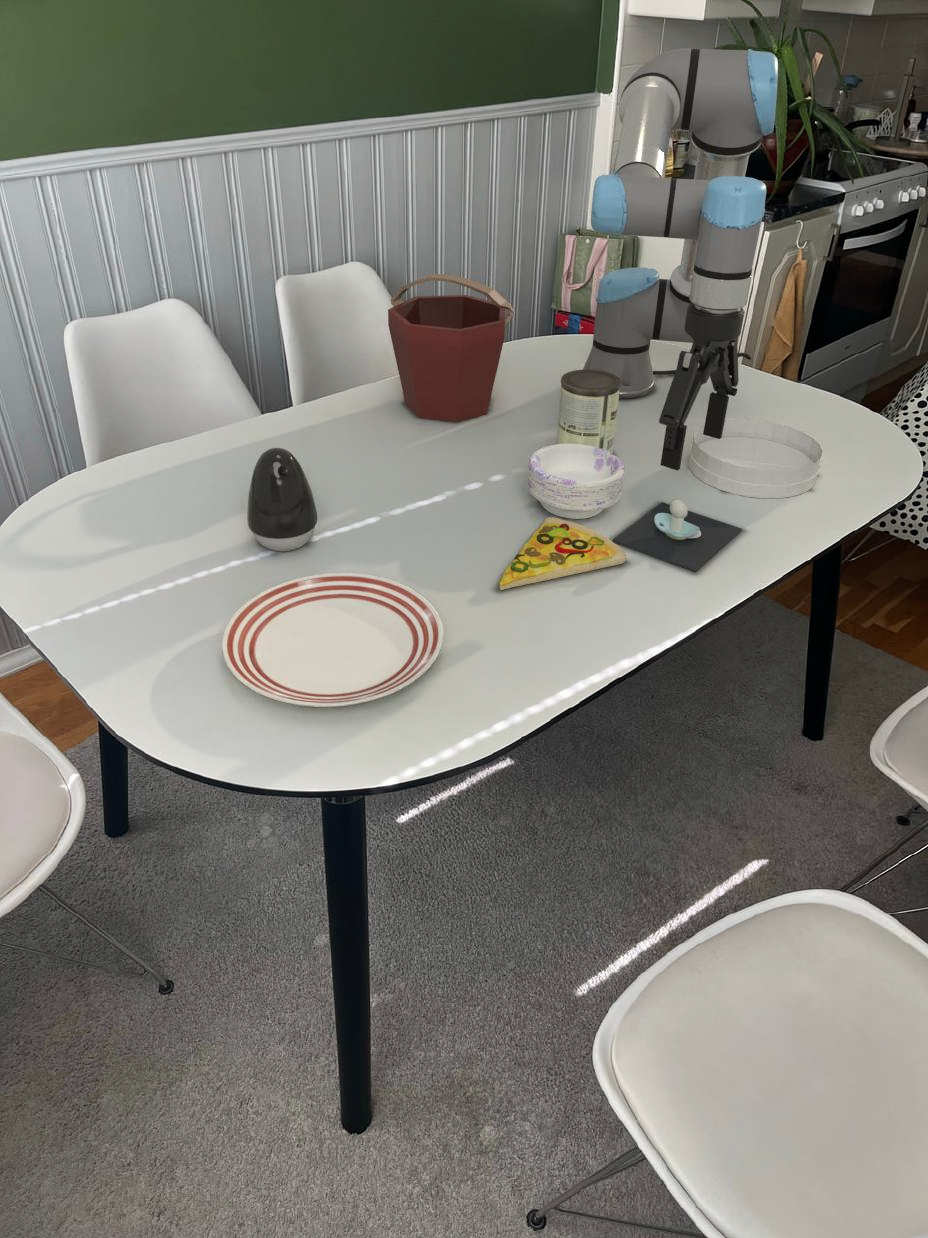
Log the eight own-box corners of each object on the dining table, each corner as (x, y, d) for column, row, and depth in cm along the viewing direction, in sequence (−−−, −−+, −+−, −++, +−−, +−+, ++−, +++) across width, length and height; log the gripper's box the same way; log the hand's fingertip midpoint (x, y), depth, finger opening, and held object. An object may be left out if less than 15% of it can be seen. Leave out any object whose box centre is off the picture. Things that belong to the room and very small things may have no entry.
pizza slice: (632, 559, 140) (635, 542, 138) (539, 613, 128) (541, 594, 126) (553, 522, 149) (555, 505, 147) (460, 569, 137) (460, 551, 135)
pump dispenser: (263, 566, 136) (251, 470, 128) (242, 534, 144) (230, 442, 135) (329, 551, 140) (322, 457, 132) (305, 520, 148) (298, 430, 139)
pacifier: (670, 519, 150) (647, 530, 146) (677, 483, 146) (653, 494, 143) (709, 537, 145) (686, 548, 142) (717, 500, 142) (693, 511, 139)
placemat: (661, 504, 155) (662, 502, 155) (741, 530, 148) (742, 528, 148) (612, 541, 144) (612, 539, 144) (695, 572, 137) (696, 570, 137)
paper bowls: (637, 506, 154) (644, 461, 150) (581, 538, 145) (586, 492, 140) (564, 476, 162) (568, 433, 158) (506, 505, 153) (509, 460, 149)
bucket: (530, 407, 188) (538, 278, 174) (457, 440, 174) (460, 303, 160) (438, 376, 201) (439, 254, 187) (364, 405, 187) (359, 275, 173)
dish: (682, 487, 160) (687, 460, 157) (692, 437, 177) (696, 411, 175) (819, 506, 155) (826, 478, 152) (815, 452, 173) (821, 426, 170)
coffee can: (555, 441, 175) (561, 367, 167) (611, 444, 174) (620, 370, 166) (554, 465, 166) (560, 388, 158) (613, 469, 165) (622, 391, 157)
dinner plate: (450, 717, 110) (450, 695, 108) (210, 727, 107) (206, 704, 106) (437, 590, 132) (437, 569, 130) (238, 595, 130) (235, 575, 128)
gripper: (730, 279, 136) (706, 417, 148) (646, 321, 120) (627, 473, 132) (780, 289, 132) (751, 430, 145) (700, 334, 116) (675, 489, 128)
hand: (691, 451), depth 138 cm, fingers open, 13 cm apart
